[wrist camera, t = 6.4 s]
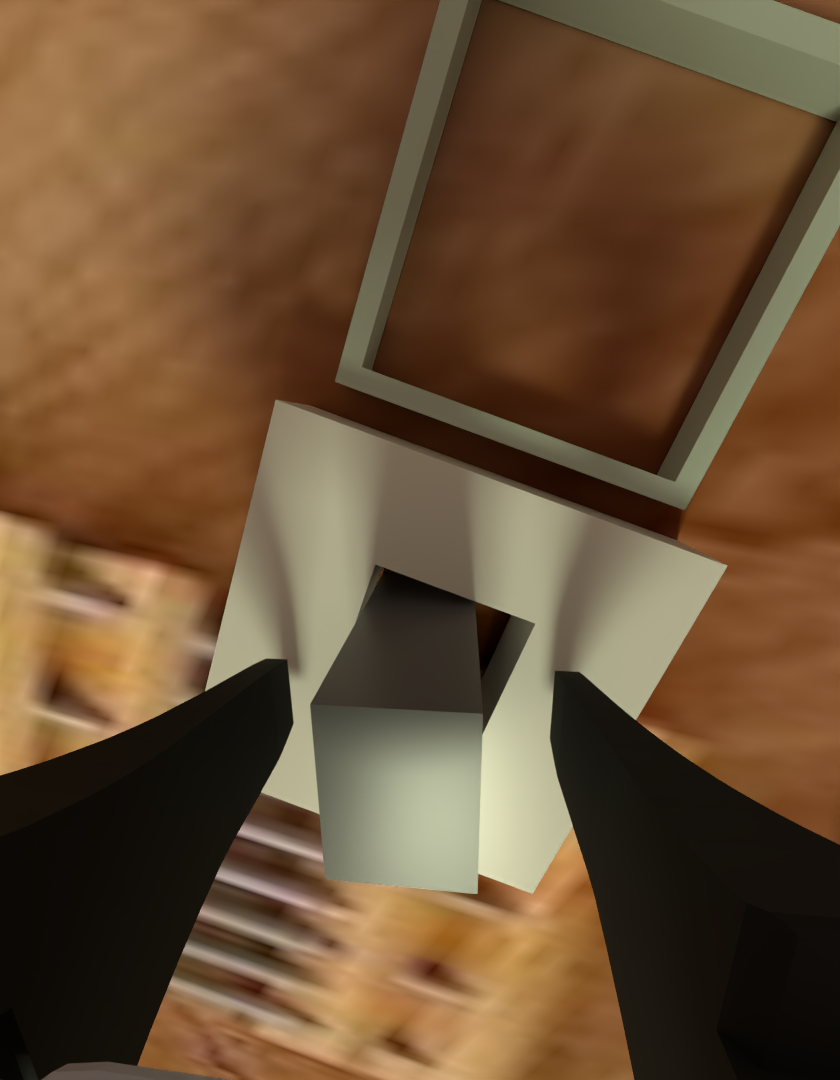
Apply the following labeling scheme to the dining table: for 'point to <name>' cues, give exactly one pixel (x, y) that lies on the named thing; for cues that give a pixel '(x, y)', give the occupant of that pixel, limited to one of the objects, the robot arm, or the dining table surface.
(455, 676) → the plug
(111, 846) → the robot arm
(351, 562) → the socket
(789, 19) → the pale green square frame
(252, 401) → the dining table surface
